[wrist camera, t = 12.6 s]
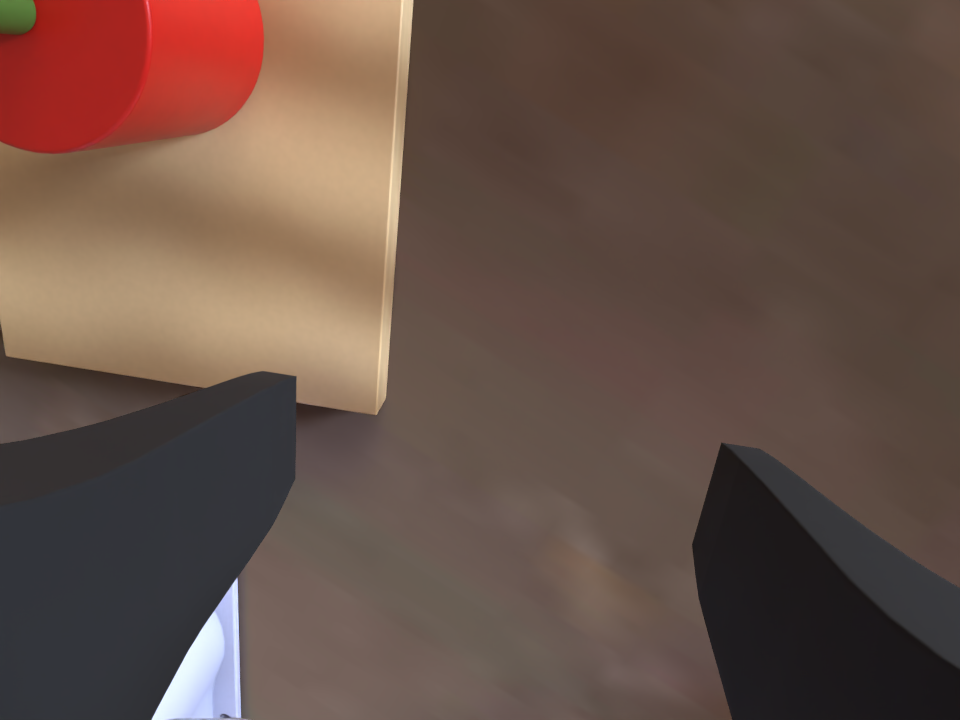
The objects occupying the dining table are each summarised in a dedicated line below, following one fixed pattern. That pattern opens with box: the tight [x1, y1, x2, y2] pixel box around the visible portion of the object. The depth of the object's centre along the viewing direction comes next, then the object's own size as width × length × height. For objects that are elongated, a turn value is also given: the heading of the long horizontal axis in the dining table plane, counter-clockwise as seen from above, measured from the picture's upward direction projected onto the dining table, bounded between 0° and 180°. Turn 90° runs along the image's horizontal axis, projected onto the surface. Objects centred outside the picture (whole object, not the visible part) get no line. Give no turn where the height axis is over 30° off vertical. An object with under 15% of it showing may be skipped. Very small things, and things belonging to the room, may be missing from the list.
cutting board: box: [0, 0, 413, 415], centre depth 18 cm, size 20×12×1 cm, turn 173°
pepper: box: [0, 0, 264, 154], centre depth 14 cm, size 5×5×7 cm
